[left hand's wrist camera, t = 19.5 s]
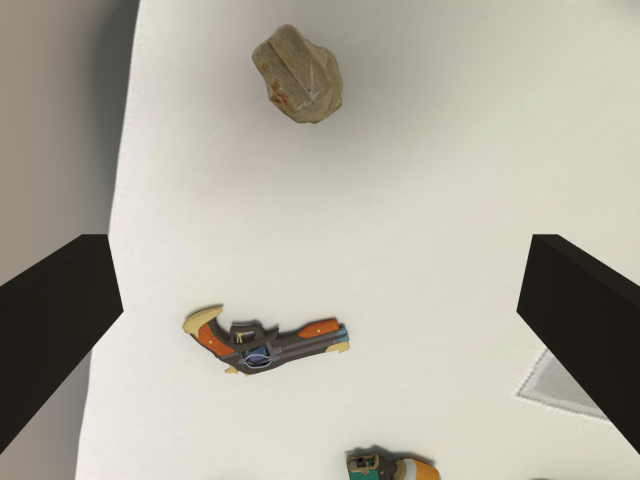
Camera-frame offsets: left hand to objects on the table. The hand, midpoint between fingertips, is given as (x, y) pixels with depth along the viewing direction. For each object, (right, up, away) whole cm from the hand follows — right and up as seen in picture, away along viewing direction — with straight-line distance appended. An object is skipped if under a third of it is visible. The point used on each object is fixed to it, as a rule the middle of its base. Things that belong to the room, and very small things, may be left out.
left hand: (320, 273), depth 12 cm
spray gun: (+11, -37, +48) cm, 61 cm away
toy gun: (-6, -10, +37) cm, 39 cm away
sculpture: (-1, +17, +27) cm, 31 cm away
